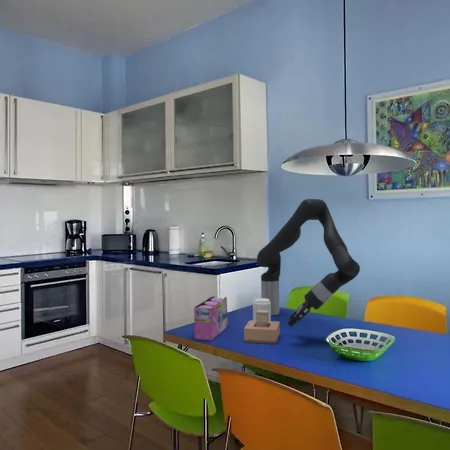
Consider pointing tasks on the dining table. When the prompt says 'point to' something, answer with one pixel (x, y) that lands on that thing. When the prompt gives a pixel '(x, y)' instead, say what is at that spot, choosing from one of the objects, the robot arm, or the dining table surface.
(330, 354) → the dining table surface
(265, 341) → the well
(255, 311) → the beverage can
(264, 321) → the post
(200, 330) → the gum box
